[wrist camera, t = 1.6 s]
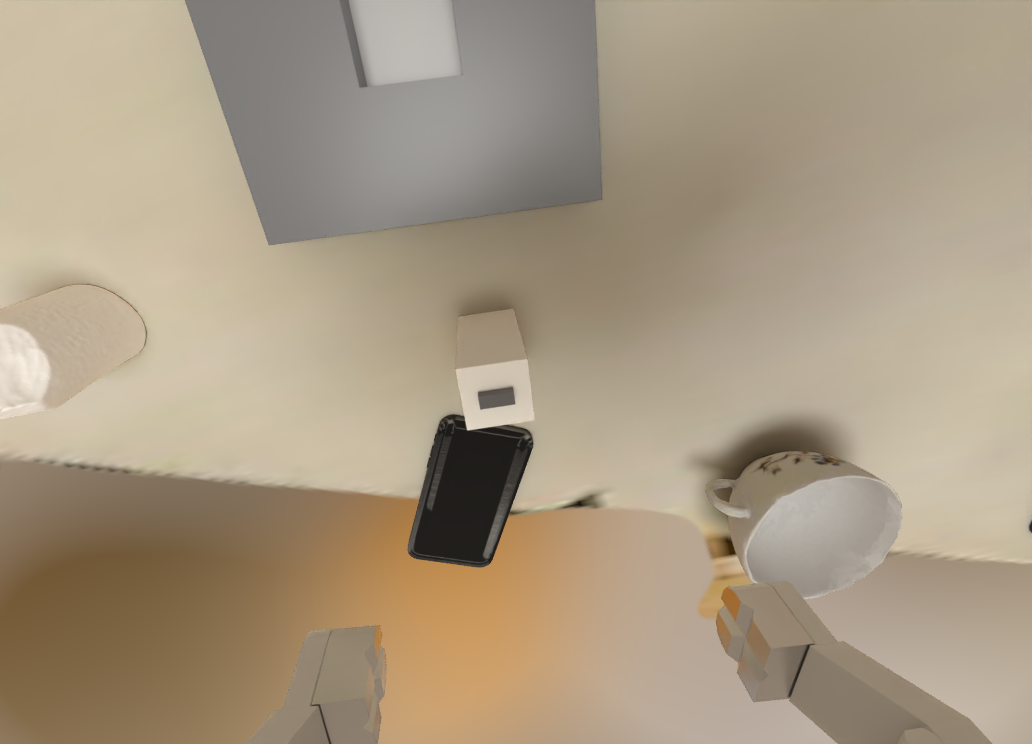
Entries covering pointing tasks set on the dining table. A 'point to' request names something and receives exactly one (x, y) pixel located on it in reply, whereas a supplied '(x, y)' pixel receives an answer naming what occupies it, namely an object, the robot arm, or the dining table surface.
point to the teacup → (809, 520)
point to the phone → (468, 492)
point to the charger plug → (492, 370)
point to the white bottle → (62, 346)
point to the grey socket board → (405, 108)
